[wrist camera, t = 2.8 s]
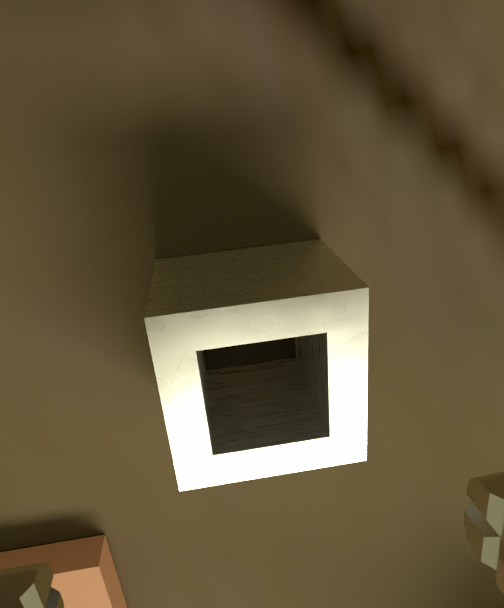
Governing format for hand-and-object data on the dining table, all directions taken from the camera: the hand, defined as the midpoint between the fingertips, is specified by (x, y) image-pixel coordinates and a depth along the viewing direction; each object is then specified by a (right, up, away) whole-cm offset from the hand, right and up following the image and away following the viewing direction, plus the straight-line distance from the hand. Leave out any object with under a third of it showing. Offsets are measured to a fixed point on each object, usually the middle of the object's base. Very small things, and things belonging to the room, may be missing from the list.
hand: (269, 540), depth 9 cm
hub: (0, +4, +8) cm, 9 cm away
